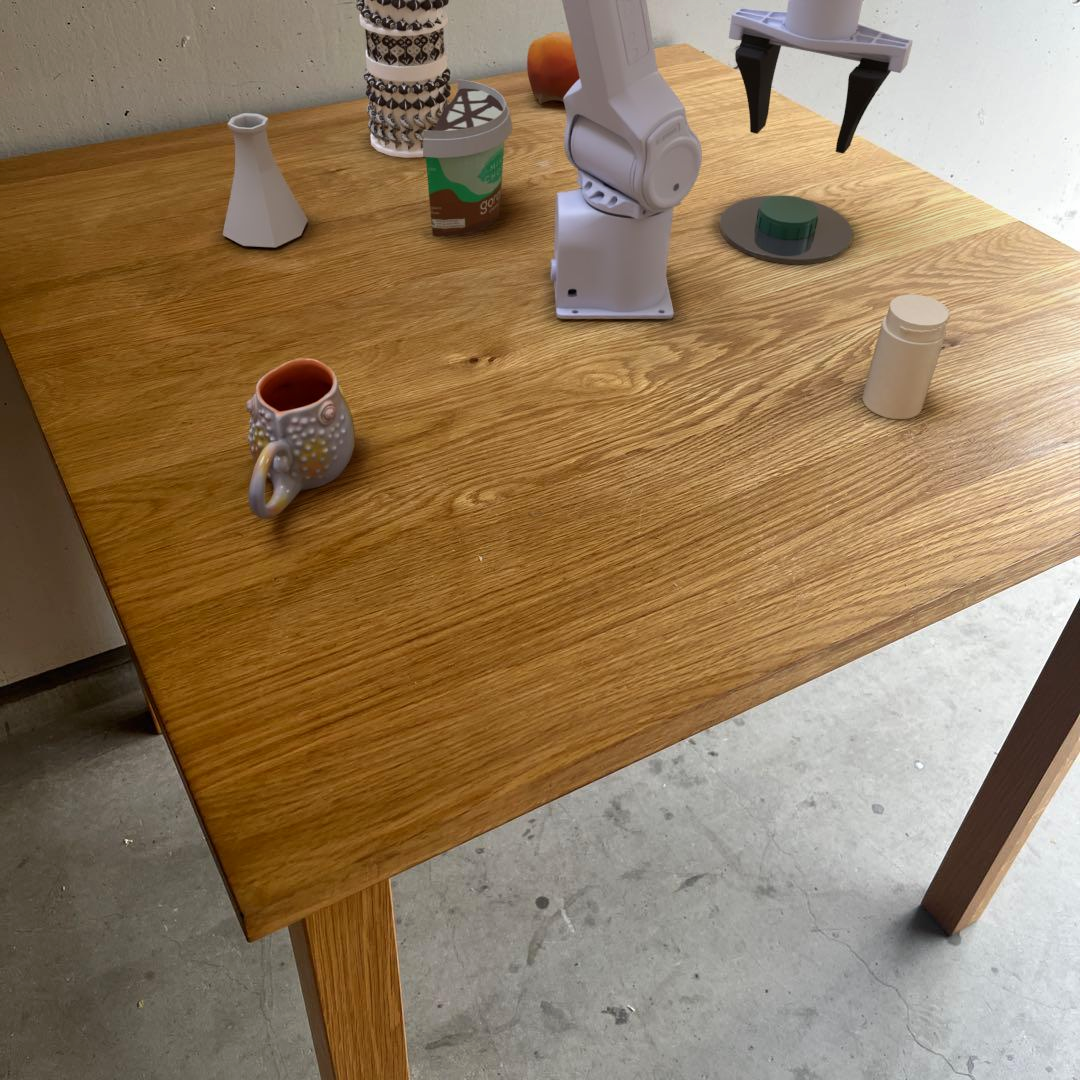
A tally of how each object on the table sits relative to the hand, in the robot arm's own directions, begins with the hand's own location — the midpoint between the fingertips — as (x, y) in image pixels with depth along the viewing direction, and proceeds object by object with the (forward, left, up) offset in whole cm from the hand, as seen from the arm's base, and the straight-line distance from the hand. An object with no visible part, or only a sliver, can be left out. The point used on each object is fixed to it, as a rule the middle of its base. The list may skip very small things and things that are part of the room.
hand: (799, 138), depth 95 cm
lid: (0, 0, -7) cm, 7 cm away
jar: (+3, -26, -8) cm, 28 cm away
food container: (-28, +3, -9) cm, 29 cm away
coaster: (0, 0, -8) cm, 9 cm away
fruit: (-19, +30, -9) cm, 36 cm away
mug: (-40, -35, -9) cm, 54 cm away
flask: (-47, 0, -9) cm, 48 cm away
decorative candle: (-35, +19, -9) cm, 40 cm away
